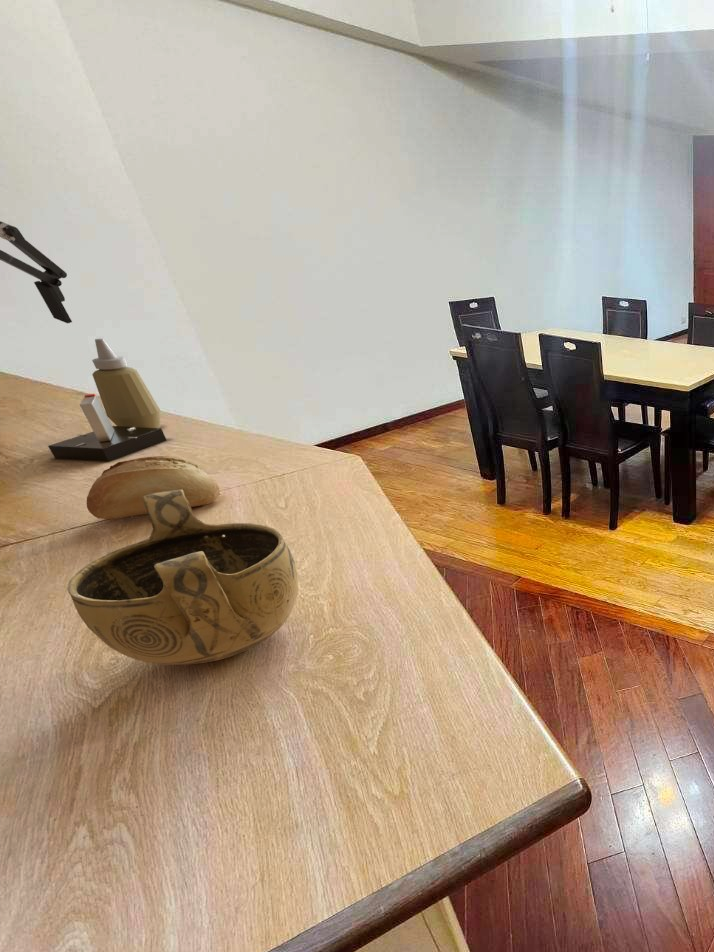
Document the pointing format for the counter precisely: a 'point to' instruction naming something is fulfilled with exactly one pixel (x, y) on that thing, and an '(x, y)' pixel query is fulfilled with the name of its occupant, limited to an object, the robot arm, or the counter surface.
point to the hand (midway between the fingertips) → (19, 333)
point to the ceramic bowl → (188, 588)
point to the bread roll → (147, 485)
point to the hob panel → (107, 444)
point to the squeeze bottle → (123, 391)
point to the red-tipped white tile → (97, 417)
